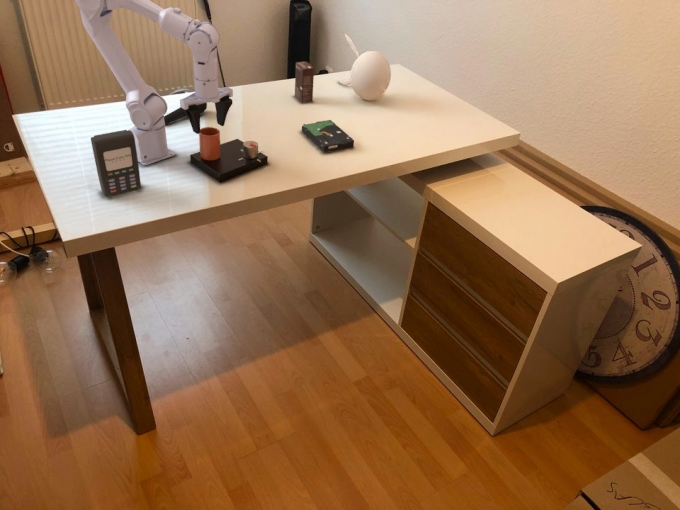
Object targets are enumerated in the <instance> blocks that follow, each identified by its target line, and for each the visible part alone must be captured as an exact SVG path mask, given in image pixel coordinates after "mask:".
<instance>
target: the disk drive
mask: <svg viewBox="0 0 680 510" xmlns="http://www.w3.org/2000/svg"><path fill="white" fill-rule="evenodd" d="M301 132H302V134H304V136H306V138H308V139H309V140H310V141H311V142H312V143H313V144H314V145H315V146H316V147H317V148H318V149H319V150H320V151H321V152H322V153H332V152H337V151H343V150H348V149H352V148H354V146H355V140H354V138H353V137H351V136H350V135H349V134H347V132H345V131H344V130H343V129H342V128H341V127H340V126H338V125H337V124H336V123H335V122H334V121H333V120H332V119H328V120H320V121H316V122H311V123H306V124H305V123H303V124H302V126H301Z"/></svg>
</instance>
